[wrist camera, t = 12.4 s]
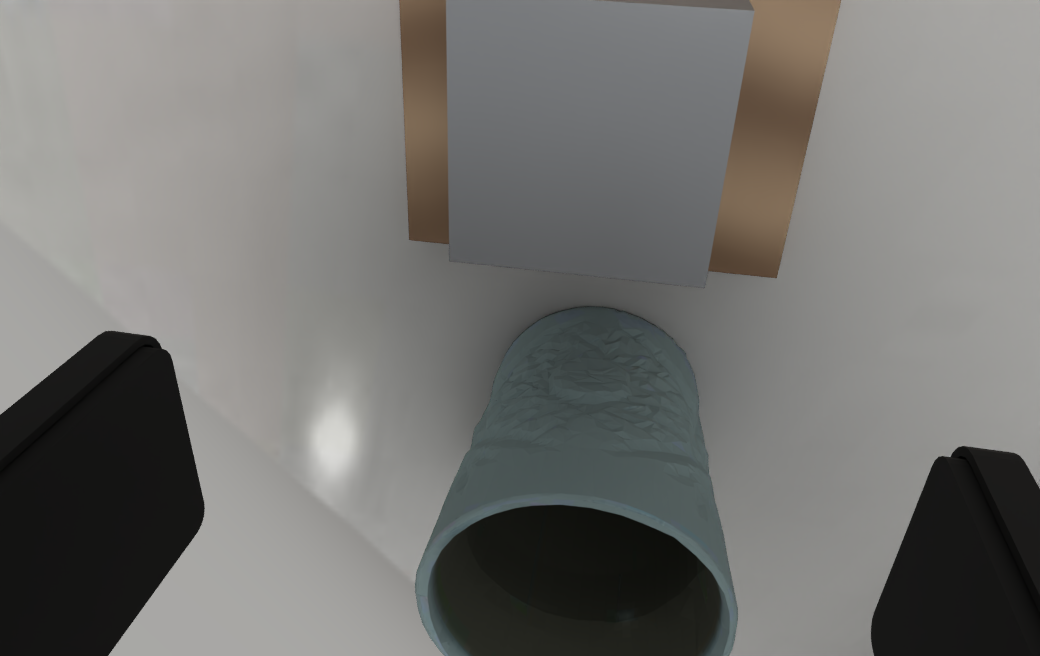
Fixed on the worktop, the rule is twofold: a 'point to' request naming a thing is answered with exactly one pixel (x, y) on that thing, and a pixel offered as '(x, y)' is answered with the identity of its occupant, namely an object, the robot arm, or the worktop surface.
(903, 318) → the worktop surface
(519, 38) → the matte grey cuboid
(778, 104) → the walnut pad
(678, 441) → the teal textured cup
